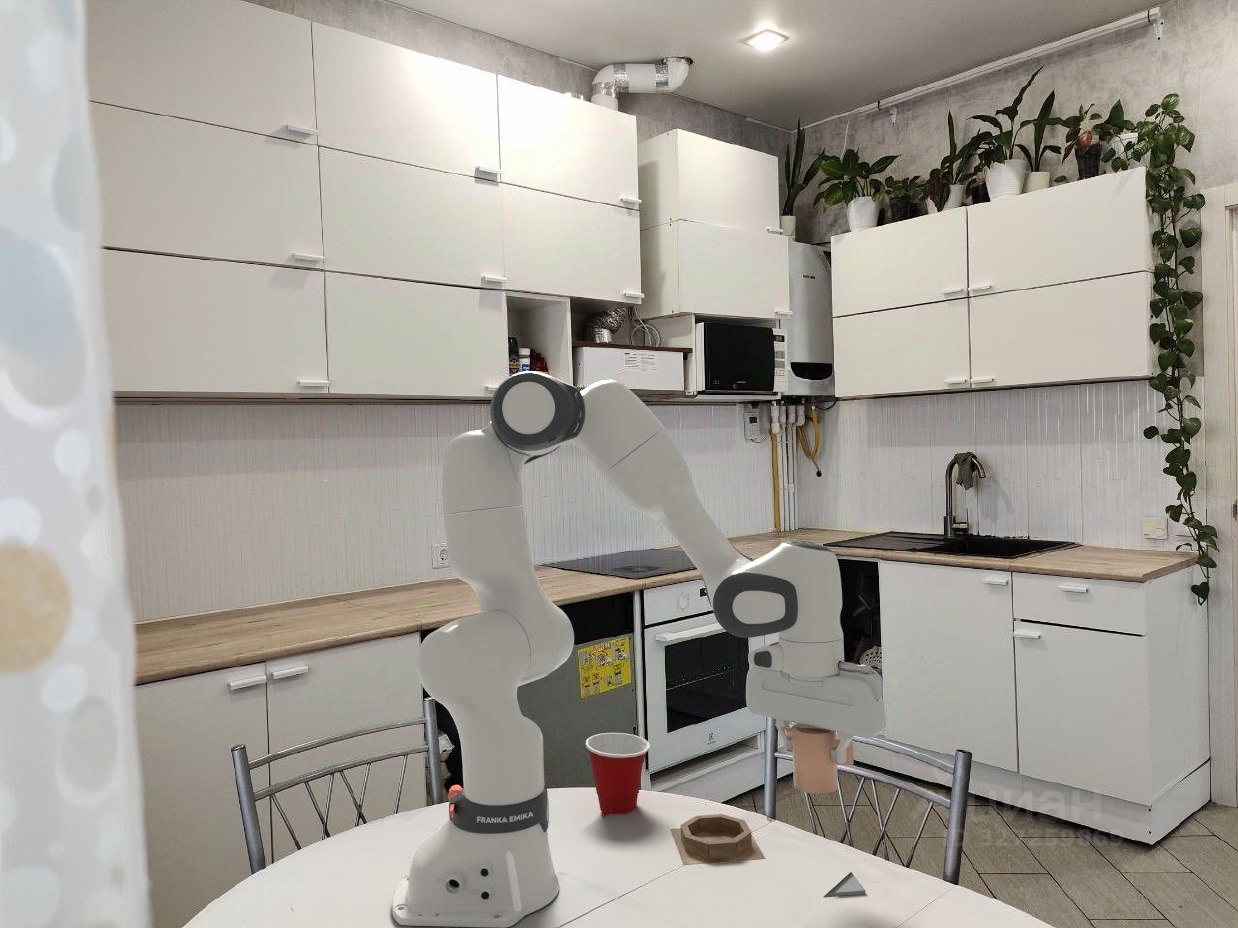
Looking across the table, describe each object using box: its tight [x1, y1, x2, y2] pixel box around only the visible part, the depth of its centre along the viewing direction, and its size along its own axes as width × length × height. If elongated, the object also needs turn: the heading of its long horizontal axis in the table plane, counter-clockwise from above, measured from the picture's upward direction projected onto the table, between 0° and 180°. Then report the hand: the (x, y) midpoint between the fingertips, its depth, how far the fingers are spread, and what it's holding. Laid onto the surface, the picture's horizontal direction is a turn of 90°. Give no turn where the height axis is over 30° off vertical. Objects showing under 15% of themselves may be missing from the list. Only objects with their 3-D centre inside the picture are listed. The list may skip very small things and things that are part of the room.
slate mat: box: [823, 871, 866, 898], centre depth 122 cm, size 10×10×1 cm
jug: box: [785, 723, 854, 795], centre depth 122 cm, size 9×6×8 cm, turn 91°
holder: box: [670, 813, 766, 866], centre depth 132 cm, size 12×12×3 cm
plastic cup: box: [585, 732, 651, 817], centre depth 146 cm, size 11×11×12 cm
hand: (814, 756), depth 122 cm, fingers closed on jug, 6 cm apart
